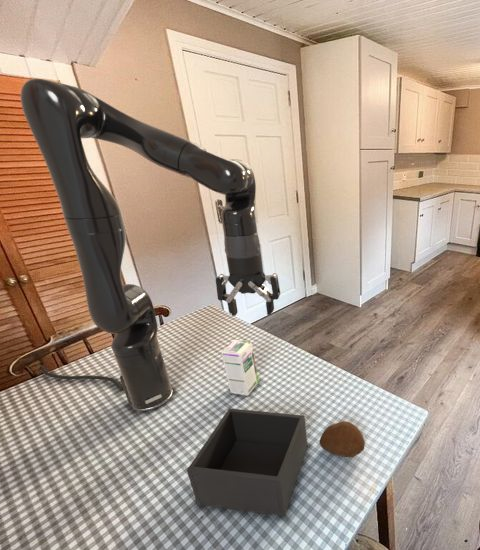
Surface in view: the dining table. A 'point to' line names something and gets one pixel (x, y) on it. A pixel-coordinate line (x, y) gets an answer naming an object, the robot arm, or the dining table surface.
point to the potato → (342, 439)
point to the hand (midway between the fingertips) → (252, 314)
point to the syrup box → (240, 367)
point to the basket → (250, 462)
